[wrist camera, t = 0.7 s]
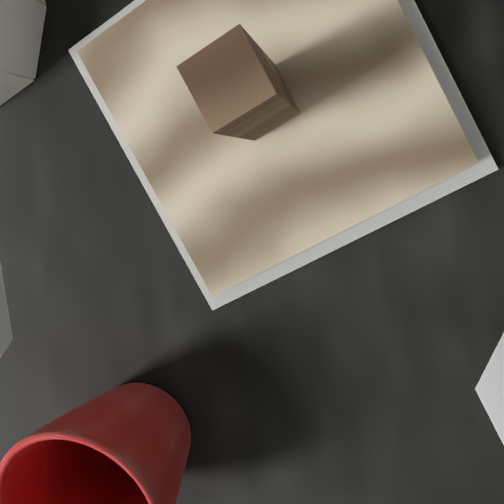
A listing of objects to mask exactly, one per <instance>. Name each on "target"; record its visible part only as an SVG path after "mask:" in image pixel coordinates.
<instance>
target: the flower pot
mask: <svg viewBox="0 0 504 504" xmlns="http://www.w3.org/2000/svg"><path fill="white" fill-rule="evenodd" d="M190 445H191V430H190V425H189V422H188V419H187V417H186V415H185V413H184V411H183V409H182V407H181V406H180V405H179V403H178V402H177V401H176V400H175V399H174V398H173V397H172V396H170V395H169V394H168V393H166V392H165V391H163V390H162V389H160V388H158V387H155V386H153V385H150V384H146V383H137V382H135V383H127V384H123V385H121V386H118V387H116V388H114V389H112V390H110V391H108V392H106V393H104V394H102V395H100V396H98V397H96V398H94V399H92V400H90V401H88V402H86V403H84V404H83V405H81V406H79V407H77V408H75V409H73V410H72V411H70V412H68V413H66V414H64V415H63V416H61V417H59V418H57V419H55V420H54V421H52V422H50V423H48V424H47V425H45V426H43V427H41V428H40V429H38V430H36V431H35V432H33V433H31V434H30V435H28V436H27V437H25V438H24V439H22V440H20V441H19V442H18V443H16V444H15V445H14V446H13V447H12V448H11V449H10V450H9V451H8V452H7V453H6V454H5V456H4V457H3V459H2V461H1V462H0V504H176V500H177V497H178V493H179V490H180V486H181V482H182V478H183V474H184V470H185V466H186V462H187V458H188V454H189V450H190Z"/></svg>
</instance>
